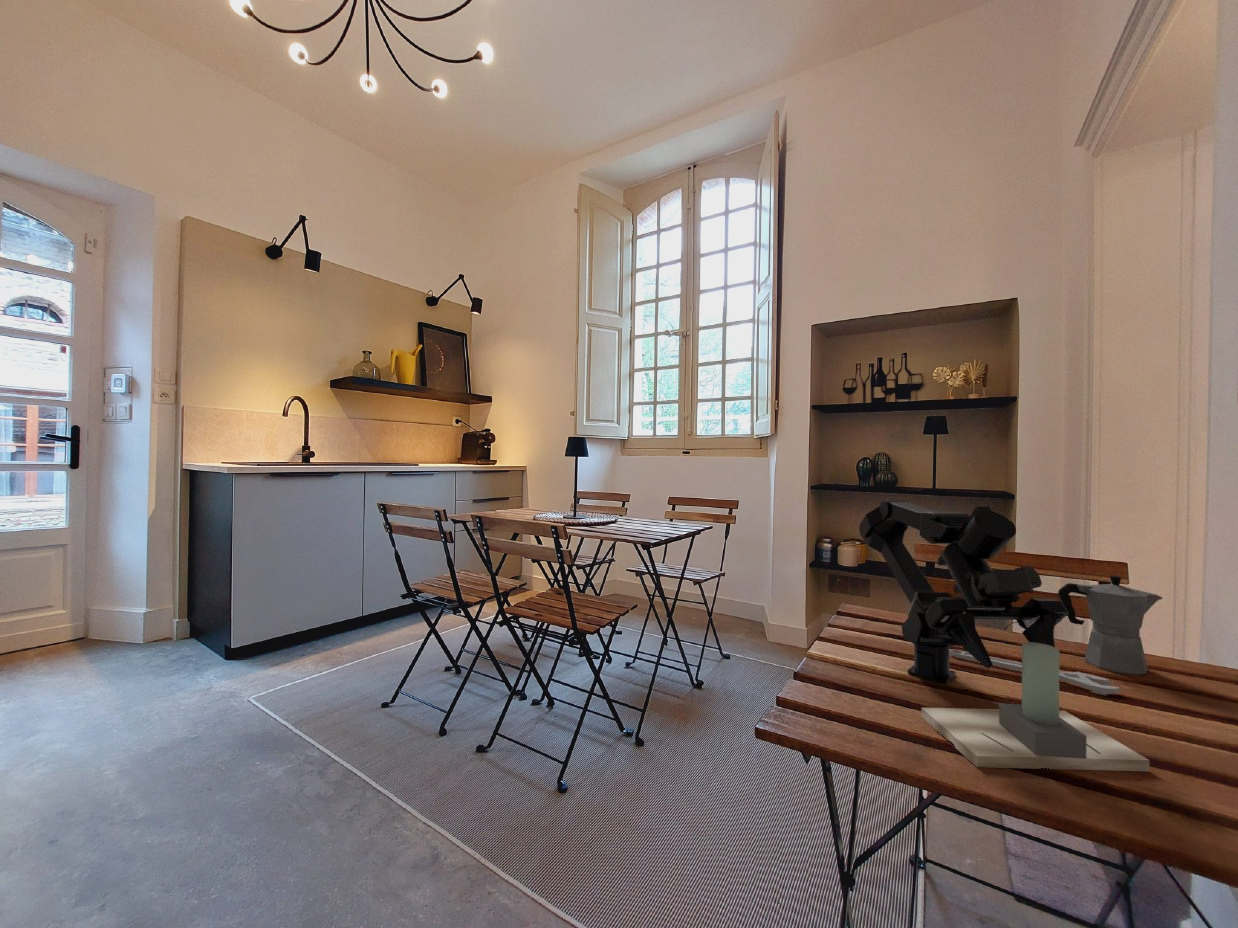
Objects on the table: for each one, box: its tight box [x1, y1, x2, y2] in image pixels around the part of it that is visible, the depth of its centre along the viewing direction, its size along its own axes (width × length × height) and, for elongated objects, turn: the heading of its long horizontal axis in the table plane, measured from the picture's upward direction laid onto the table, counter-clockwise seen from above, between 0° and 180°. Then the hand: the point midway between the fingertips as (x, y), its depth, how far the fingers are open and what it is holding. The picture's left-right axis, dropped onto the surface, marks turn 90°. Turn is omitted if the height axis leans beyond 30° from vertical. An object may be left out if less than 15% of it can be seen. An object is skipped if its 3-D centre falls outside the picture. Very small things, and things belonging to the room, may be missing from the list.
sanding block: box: [998, 641, 1086, 759], centre depth 70 cm, size 6×8×13 cm
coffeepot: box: [1057, 574, 1163, 676], centre depth 100 cm, size 15×9×18 cm, turn 62°
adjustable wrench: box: [949, 648, 1120, 696], centre depth 97 cm, size 25×6×2 cm, turn 42°
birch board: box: [920, 707, 1150, 773], centre depth 72 cm, size 13×22×2 cm, turn 88°
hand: (1022, 667), depth 73 cm, fingers open, 9 cm apart
